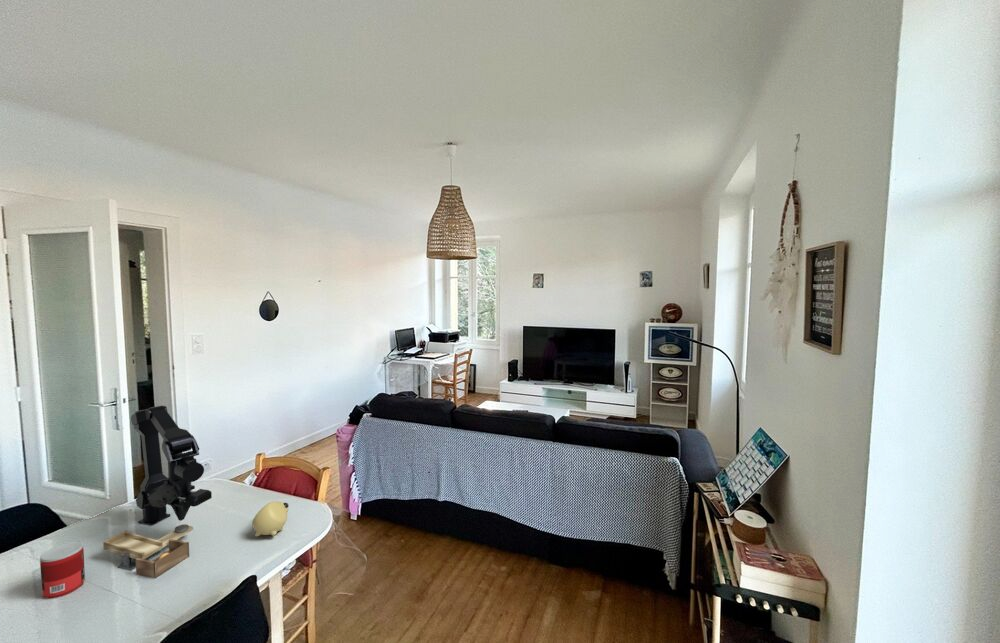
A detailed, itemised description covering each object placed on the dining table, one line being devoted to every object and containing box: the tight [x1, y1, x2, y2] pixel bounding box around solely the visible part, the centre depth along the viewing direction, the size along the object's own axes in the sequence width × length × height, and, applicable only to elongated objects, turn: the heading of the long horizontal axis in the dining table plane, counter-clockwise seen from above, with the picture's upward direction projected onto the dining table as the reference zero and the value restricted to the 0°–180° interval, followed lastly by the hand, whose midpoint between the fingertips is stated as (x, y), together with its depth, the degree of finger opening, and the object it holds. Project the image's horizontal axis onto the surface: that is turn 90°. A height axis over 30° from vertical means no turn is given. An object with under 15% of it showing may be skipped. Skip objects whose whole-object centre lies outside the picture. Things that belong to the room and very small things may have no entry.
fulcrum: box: [117, 537, 162, 572], centre depth 123 cm, size 5×8×4 cm, turn 168°
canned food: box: [39, 541, 86, 600], centre depth 110 cm, size 8×8×11 cm
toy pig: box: [251, 500, 289, 537], centre depth 138 cm, size 10×12×11 cm
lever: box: [103, 523, 194, 559], centre depth 128 cm, size 15×16×2 cm
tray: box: [135, 539, 190, 579], centre depth 121 cm, size 7×10×4 cm
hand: (181, 520), depth 132 cm, fingers closed
